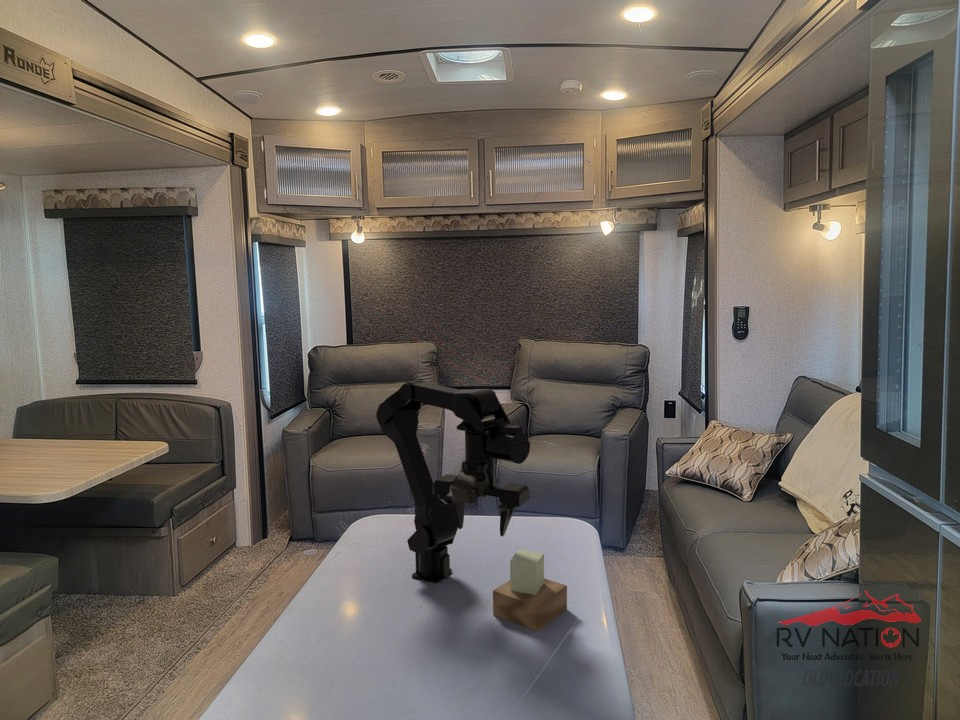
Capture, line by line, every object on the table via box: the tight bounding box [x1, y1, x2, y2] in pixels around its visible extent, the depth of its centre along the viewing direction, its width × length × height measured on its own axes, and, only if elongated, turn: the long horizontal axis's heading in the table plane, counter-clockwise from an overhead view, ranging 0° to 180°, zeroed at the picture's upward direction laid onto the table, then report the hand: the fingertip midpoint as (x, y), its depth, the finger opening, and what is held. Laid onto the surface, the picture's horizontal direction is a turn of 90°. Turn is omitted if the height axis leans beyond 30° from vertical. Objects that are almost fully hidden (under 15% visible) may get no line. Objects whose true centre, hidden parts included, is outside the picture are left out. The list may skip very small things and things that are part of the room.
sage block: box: [509, 549, 545, 595], centre depth 124 cm, size 5×5×6 cm
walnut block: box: [492, 577, 568, 633], centre depth 124 cm, size 10×10×5 cm
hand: (481, 532), depth 129 cm, fingers open, 9 cm apart
